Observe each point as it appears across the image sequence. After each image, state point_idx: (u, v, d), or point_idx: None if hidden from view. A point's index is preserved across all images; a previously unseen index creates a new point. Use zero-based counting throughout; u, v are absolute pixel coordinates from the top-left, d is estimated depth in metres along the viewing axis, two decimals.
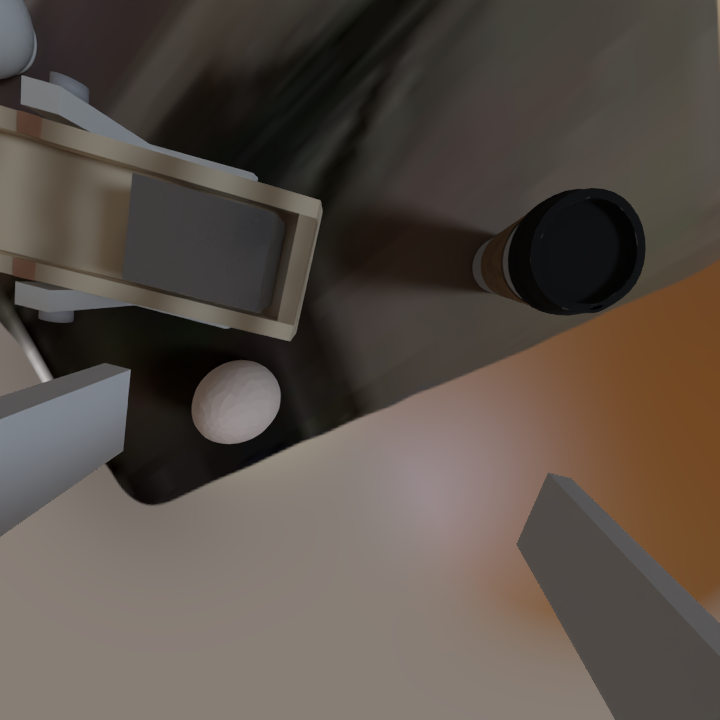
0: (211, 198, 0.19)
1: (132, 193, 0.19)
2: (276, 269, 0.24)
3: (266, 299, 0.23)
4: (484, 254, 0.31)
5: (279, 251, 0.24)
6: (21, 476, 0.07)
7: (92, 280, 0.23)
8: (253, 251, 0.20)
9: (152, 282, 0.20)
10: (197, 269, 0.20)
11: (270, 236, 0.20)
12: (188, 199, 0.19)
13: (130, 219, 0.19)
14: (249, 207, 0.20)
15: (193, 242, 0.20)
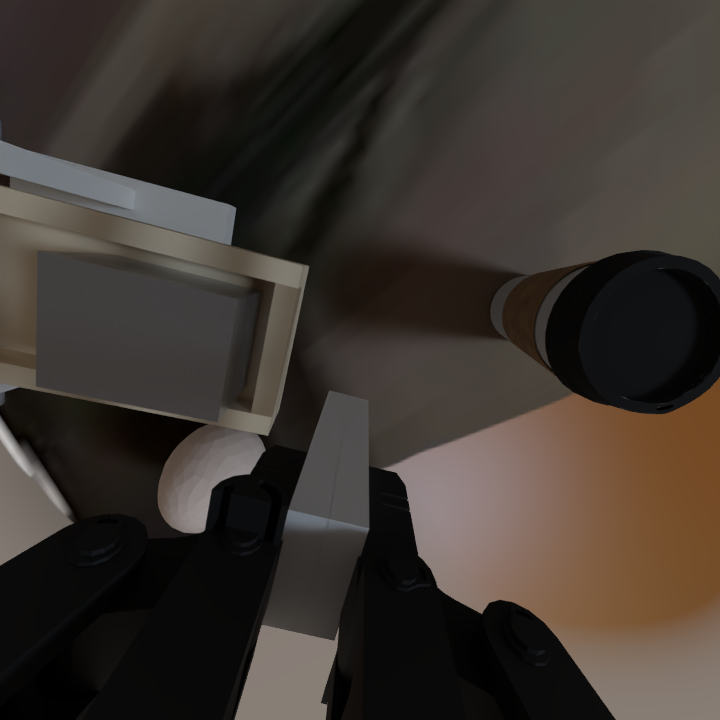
0: (150, 281, 0.14)
1: (40, 277, 0.14)
2: (250, 347, 0.19)
3: (236, 390, 0.18)
4: (507, 305, 0.26)
5: (252, 326, 0.19)
6: None
7: (11, 369, 0.18)
8: (210, 347, 0.15)
9: (77, 389, 0.15)
10: (136, 372, 0.15)
11: (233, 328, 0.15)
12: (118, 283, 0.14)
13: (40, 311, 0.14)
14: (202, 292, 0.14)
15: (128, 339, 0.15)
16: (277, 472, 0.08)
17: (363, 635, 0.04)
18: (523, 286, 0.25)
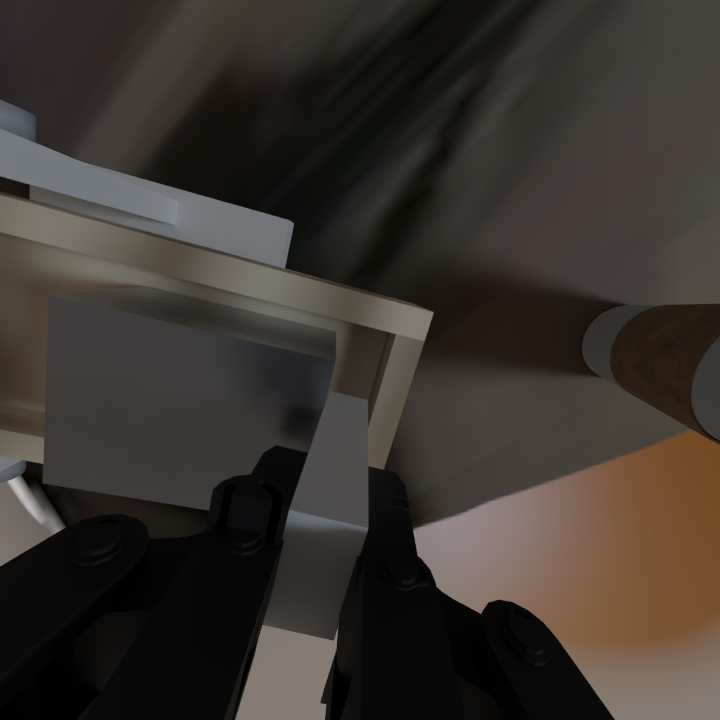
0: (211, 338, 0.10)
1: (51, 334, 0.09)
2: None
3: None
4: (622, 343, 0.22)
5: None
6: None
7: (43, 443, 0.13)
8: (292, 427, 0.11)
9: (101, 486, 0.11)
10: (186, 461, 0.11)
11: (325, 400, 0.10)
12: (166, 341, 0.10)
13: (51, 381, 0.10)
14: (286, 352, 0.10)
15: (177, 417, 0.10)
16: (278, 472, 0.08)
17: (362, 635, 0.04)
18: (648, 324, 0.21)
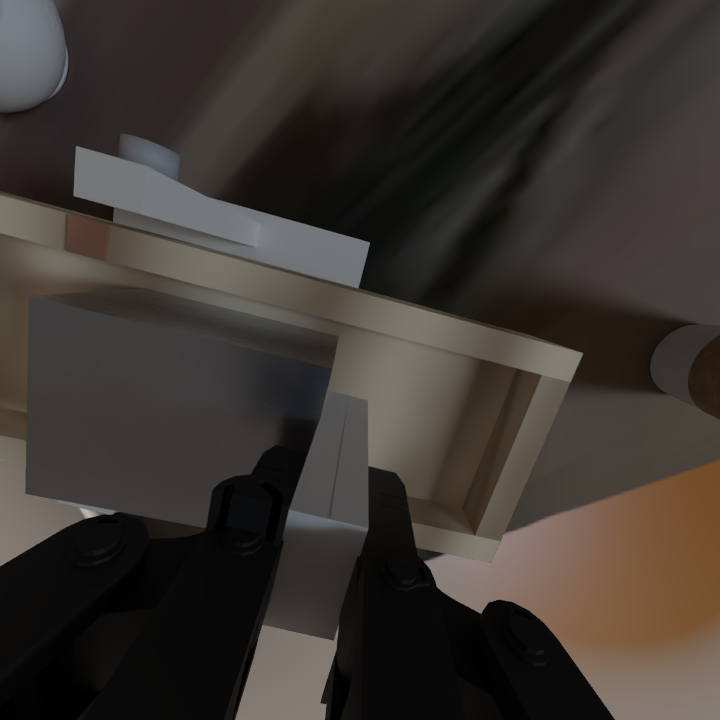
0: (199, 342, 0.09)
1: (32, 337, 0.09)
2: None
3: None
4: (704, 365, 0.22)
5: None
6: None
7: None
8: (286, 440, 0.10)
9: (85, 498, 0.10)
10: (173, 474, 0.10)
11: (321, 410, 0.10)
12: (151, 345, 0.09)
13: (32, 387, 0.09)
14: (279, 358, 0.09)
15: (163, 427, 0.10)
16: (278, 472, 0.08)
17: (362, 635, 0.04)
18: None
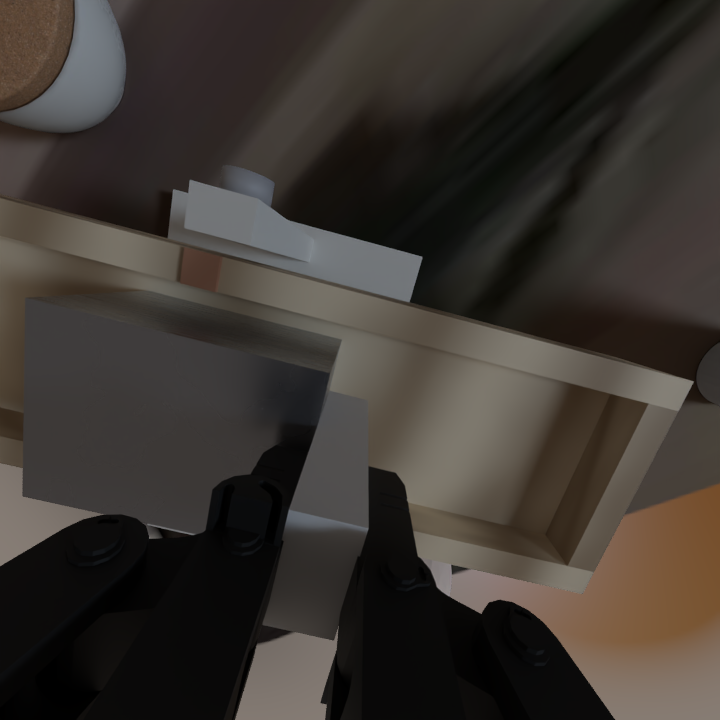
0: (194, 345, 0.09)
1: (28, 339, 0.09)
2: None
3: None
4: None
5: (328, 391, 0.13)
6: None
7: None
8: (282, 446, 0.09)
9: (81, 502, 0.10)
10: (168, 479, 0.10)
11: (318, 417, 0.09)
12: (145, 348, 0.09)
13: (29, 389, 0.09)
14: (275, 362, 0.09)
15: (158, 431, 0.09)
16: (277, 472, 0.08)
17: (363, 635, 0.04)
18: None
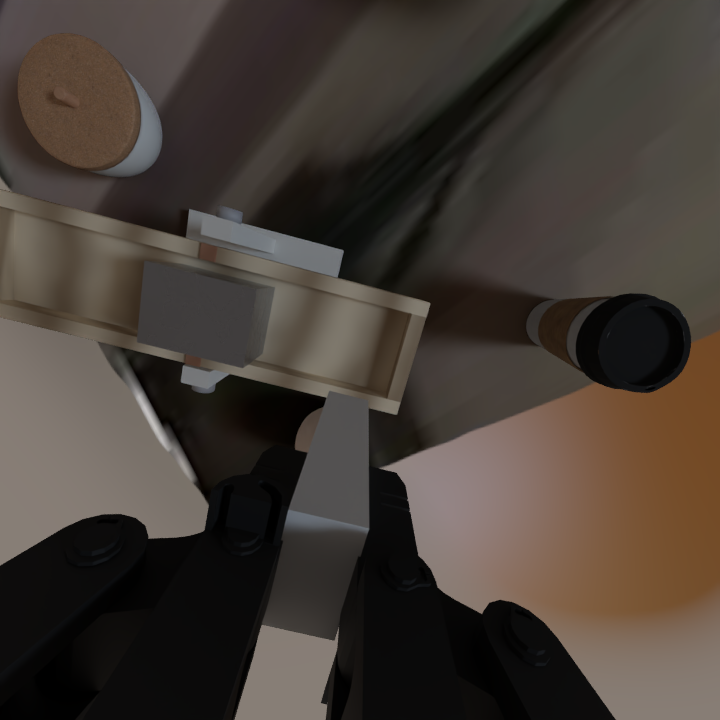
0: (205, 278, 0.24)
1: (144, 276, 0.24)
2: (265, 325, 0.28)
3: (255, 352, 0.27)
4: (542, 322, 0.37)
5: (267, 310, 0.28)
6: None
7: None
8: (240, 319, 0.24)
9: (160, 344, 0.25)
10: (195, 334, 0.25)
11: (253, 307, 0.24)
12: (188, 279, 0.24)
13: (143, 296, 0.24)
14: (236, 285, 0.24)
15: (191, 313, 0.24)
16: (277, 472, 0.08)
17: (363, 635, 0.04)
18: (555, 309, 0.36)
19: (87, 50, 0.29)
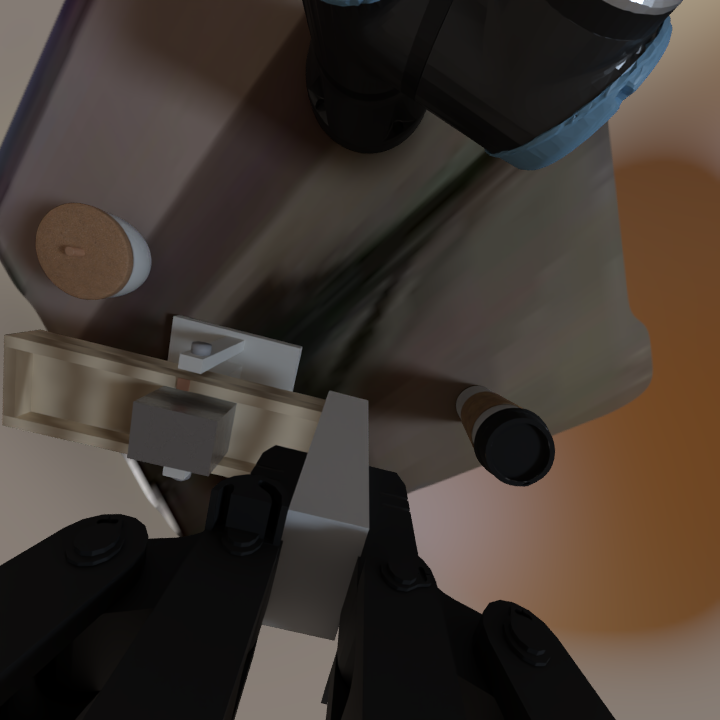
0: (179, 414, 0.32)
1: (133, 412, 0.32)
2: (229, 432, 0.36)
3: (220, 457, 0.35)
4: (462, 410, 0.45)
5: (230, 423, 0.36)
6: None
7: None
8: (205, 442, 0.32)
9: (145, 459, 0.33)
10: (171, 452, 0.32)
11: (215, 433, 0.32)
12: (166, 414, 0.32)
13: (132, 426, 0.32)
14: (202, 418, 0.32)
15: (169, 437, 0.32)
16: (277, 472, 0.08)
17: (363, 635, 0.04)
18: (470, 403, 0.44)
19: (92, 216, 0.37)
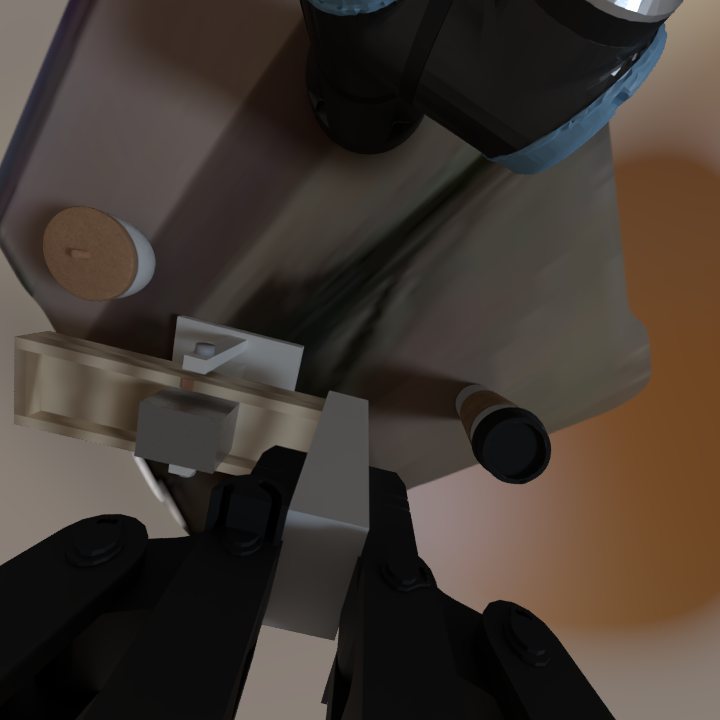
0: (184, 413, 0.33)
1: (139, 412, 0.33)
2: (232, 431, 0.37)
3: (223, 455, 0.36)
4: (461, 409, 0.46)
5: (233, 421, 0.37)
6: None
7: None
8: (209, 441, 0.33)
9: (151, 457, 0.34)
10: (177, 450, 0.33)
11: (219, 432, 0.33)
12: (171, 414, 0.33)
13: (138, 425, 0.33)
14: (206, 418, 0.33)
15: (174, 436, 0.33)
16: (277, 472, 0.08)
17: (363, 635, 0.04)
18: (469, 402, 0.45)
19: (97, 219, 0.38)
